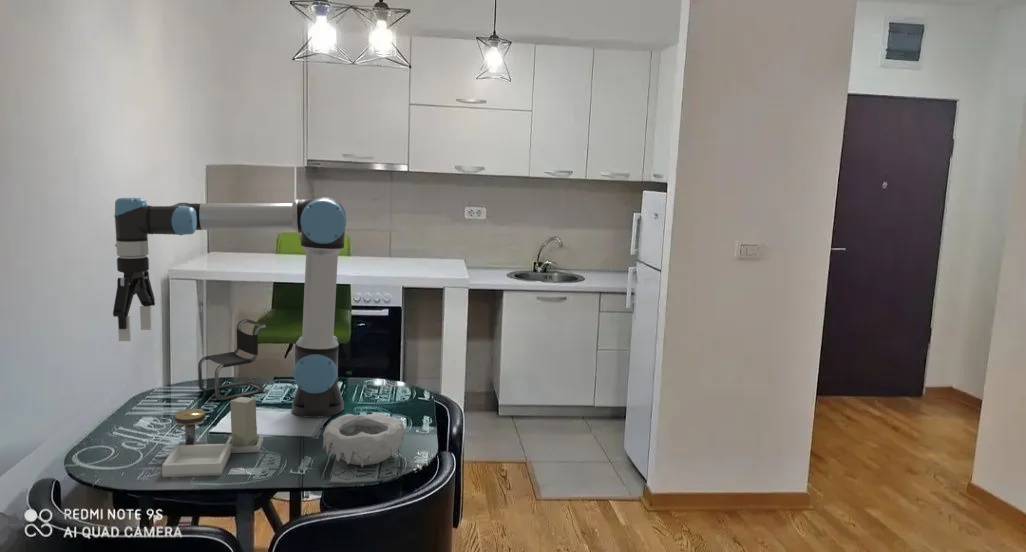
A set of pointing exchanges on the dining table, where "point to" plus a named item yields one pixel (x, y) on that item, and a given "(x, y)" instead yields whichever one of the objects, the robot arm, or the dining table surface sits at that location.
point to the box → (243, 421)
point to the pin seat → (245, 448)
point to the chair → (234, 361)
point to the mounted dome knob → (190, 424)
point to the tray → (196, 460)
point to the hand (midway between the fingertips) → (136, 335)
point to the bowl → (363, 438)
